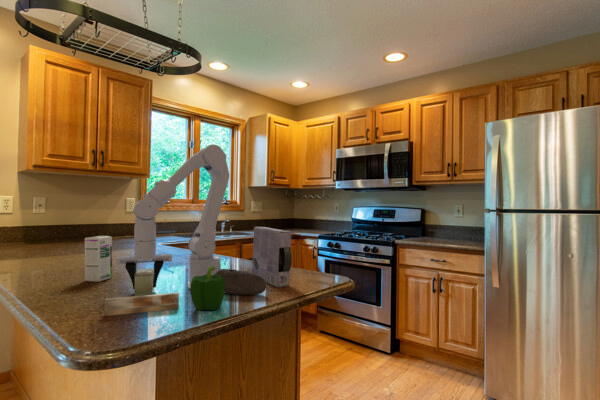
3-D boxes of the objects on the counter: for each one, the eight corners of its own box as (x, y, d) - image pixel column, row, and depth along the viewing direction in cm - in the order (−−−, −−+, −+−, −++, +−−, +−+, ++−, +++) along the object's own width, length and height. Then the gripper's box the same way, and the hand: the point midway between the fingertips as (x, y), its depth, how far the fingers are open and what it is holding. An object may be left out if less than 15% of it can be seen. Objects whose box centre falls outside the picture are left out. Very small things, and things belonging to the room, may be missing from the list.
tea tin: (137, 289, 100) (137, 269, 100) (154, 288, 102) (154, 268, 102) (134, 297, 93) (134, 275, 93) (152, 295, 94) (152, 273, 94)
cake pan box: (292, 286, 105) (293, 230, 105) (279, 288, 102) (279, 230, 102) (263, 275, 121) (264, 226, 121) (251, 277, 118) (251, 226, 118)
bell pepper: (207, 316, 78) (207, 272, 78) (183, 309, 82) (183, 268, 82) (232, 306, 85) (233, 266, 85) (209, 301, 89) (210, 263, 89)
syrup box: (99, 281, 110) (99, 237, 110) (84, 281, 111) (84, 237, 111) (112, 278, 116) (112, 235, 116) (97, 277, 117) (98, 235, 117)
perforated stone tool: (269, 293, 97) (269, 269, 97) (262, 299, 92) (262, 273, 92) (222, 290, 101) (222, 267, 101) (213, 294, 96) (213, 270, 96)
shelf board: (178, 296, 93) (178, 283, 93) (178, 308, 83) (178, 293, 83) (112, 302, 87) (112, 288, 87) (104, 316, 77) (104, 300, 77)
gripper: (172, 238, 104) (171, 282, 104) (119, 240, 99) (118, 286, 99) (171, 240, 97) (171, 287, 97) (115, 242, 92) (114, 292, 92)
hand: (144, 287), depth 97 cm, fingers closed on tea tin, 5 cm apart
